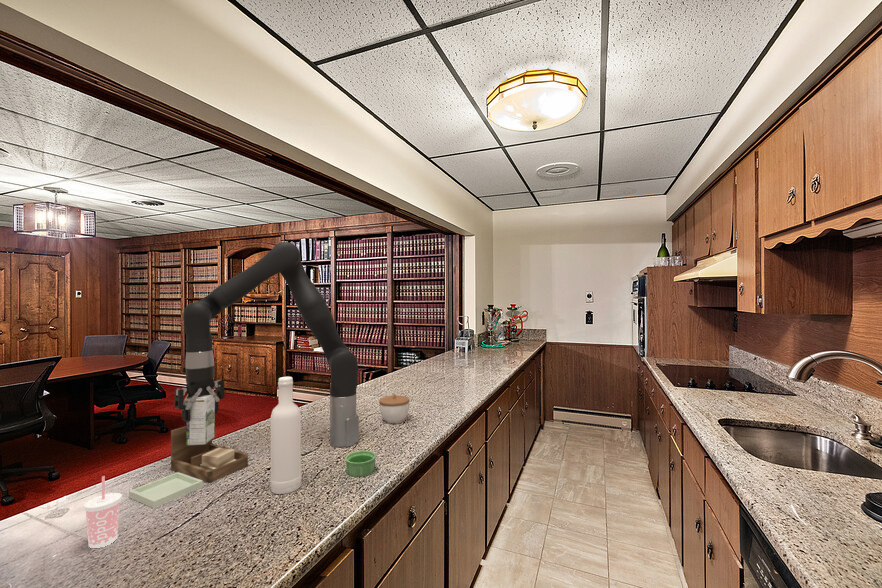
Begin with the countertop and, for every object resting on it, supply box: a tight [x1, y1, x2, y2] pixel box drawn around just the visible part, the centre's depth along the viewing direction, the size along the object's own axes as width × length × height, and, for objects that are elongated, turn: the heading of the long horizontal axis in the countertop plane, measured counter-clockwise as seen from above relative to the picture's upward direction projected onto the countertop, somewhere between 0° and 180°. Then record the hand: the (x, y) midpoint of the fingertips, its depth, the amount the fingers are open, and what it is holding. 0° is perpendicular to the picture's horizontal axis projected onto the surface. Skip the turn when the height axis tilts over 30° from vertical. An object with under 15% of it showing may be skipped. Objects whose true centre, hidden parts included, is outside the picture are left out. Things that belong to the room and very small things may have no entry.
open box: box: [170, 425, 249, 484], centre depth 117 cm, size 19×12×12 cm, turn 63°
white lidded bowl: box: [378, 393, 410, 424], centre depth 160 cm, size 13×13×11 cm
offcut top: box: [202, 448, 235, 468], centre depth 115 cm, size 6×6×3 cm
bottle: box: [269, 376, 302, 495], centre depth 104 cm, size 8×8×30 cm
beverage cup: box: [83, 475, 123, 549], centre depth 81 cm, size 6×6×14 cm
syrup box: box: [185, 394, 216, 445], centre depth 119 cm, size 6×6×14 cm
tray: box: [128, 472, 204, 509], centre depth 102 cm, size 12×12×2 cm
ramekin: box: [344, 450, 377, 478], centre depth 114 cm, size 9×9×4 cm
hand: (201, 417), depth 119 cm, fingers closed on syrup box, 8 cm apart
